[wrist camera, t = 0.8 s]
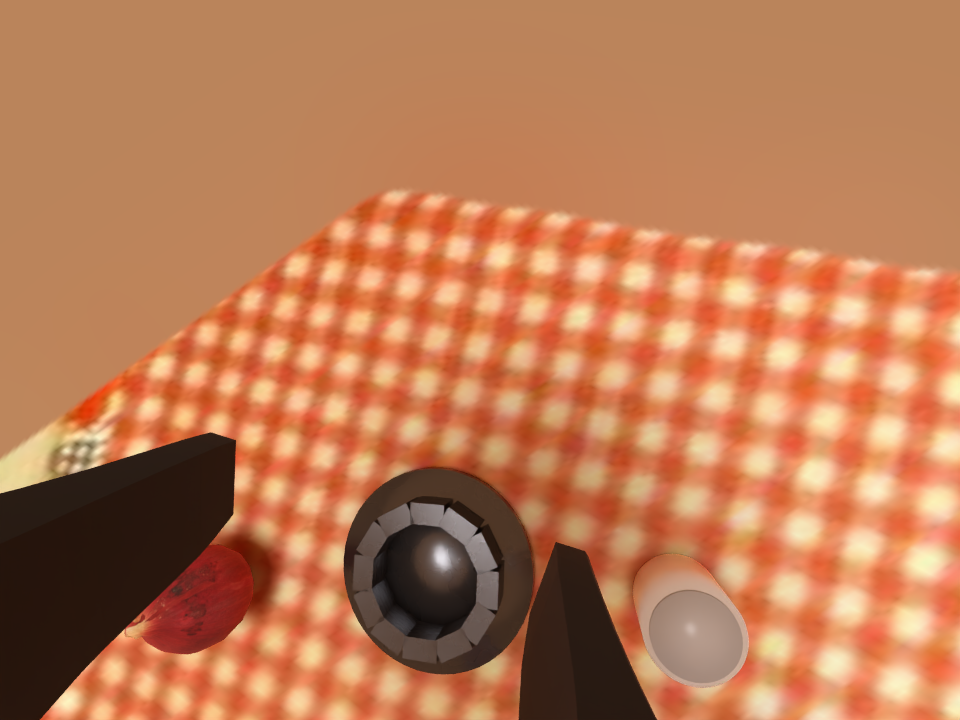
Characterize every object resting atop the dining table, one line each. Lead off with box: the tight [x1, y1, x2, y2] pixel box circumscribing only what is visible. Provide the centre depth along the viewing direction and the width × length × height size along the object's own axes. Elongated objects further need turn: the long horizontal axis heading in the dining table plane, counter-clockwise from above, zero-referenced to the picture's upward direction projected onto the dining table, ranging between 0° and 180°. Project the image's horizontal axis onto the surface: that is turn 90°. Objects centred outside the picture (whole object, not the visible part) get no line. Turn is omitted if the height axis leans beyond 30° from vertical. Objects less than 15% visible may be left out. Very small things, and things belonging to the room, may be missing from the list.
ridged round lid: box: [344, 468, 534, 674], centre depth 28 cm, size 12×12×3 cm
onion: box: [125, 544, 254, 654], centre depth 28 cm, size 6×6×8 cm
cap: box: [633, 554, 749, 688], centre depth 24 cm, size 5×5×5 cm
